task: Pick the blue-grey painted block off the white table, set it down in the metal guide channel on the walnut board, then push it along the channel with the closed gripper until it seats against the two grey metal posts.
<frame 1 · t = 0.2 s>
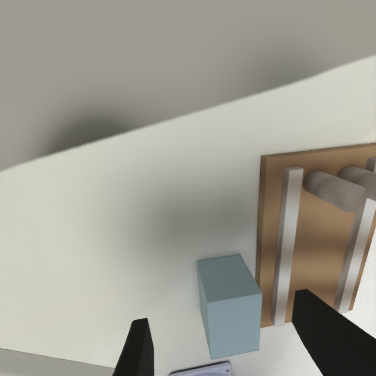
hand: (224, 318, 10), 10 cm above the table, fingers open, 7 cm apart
boss board: (311, 243, 22), on the table
panel block: (219, 283, 22), on the table
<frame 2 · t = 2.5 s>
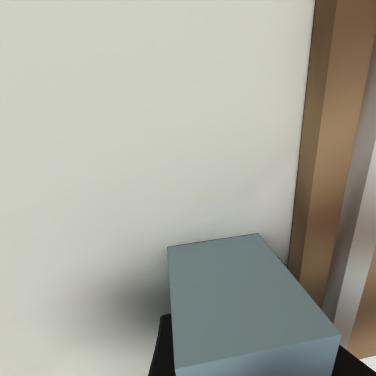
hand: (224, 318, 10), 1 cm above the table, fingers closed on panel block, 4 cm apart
panel block: (216, 294, 11), on the table, touching gripper
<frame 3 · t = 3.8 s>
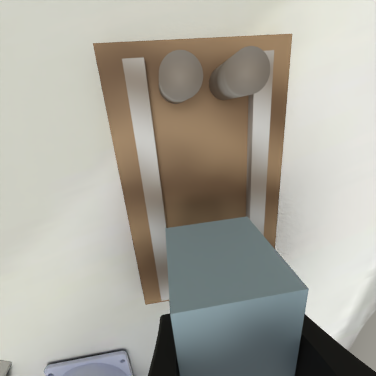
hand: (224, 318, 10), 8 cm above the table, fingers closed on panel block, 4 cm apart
boss board: (202, 189, 17), on the table
panel block: (210, 273, 12), point 6 cm above the table, touching gripper
when the fingers open (3 cm above the table, at t = 5.3 s): panel block stays where it is, resting on boss board.
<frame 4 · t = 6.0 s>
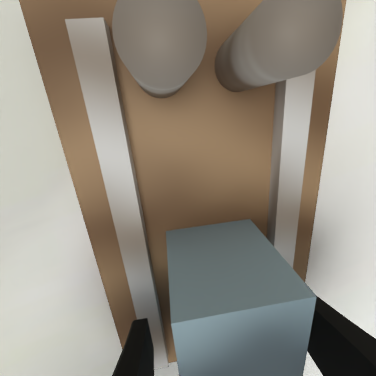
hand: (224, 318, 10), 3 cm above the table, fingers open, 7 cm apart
boss board: (205, 220, 12), on the table
panel block: (211, 277, 12), point 1 cm above the table, touching boss board
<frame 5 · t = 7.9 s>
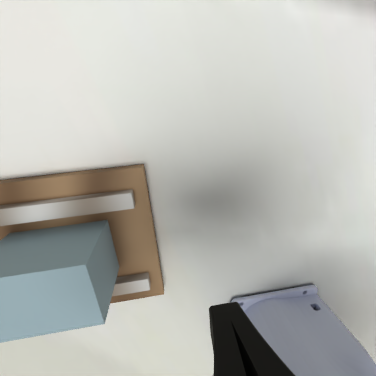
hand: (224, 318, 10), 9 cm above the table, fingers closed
boss board: (31, 249, 17), on the table
panel block: (68, 251, 16), point 1 cm above the table, touching boss board
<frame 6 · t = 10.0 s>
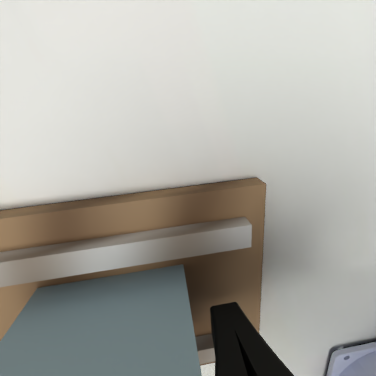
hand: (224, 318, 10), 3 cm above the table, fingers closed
boss board: (84, 300, 12), on the table
panel block: (121, 309, 11), point 1 cm above the table, touching gripper
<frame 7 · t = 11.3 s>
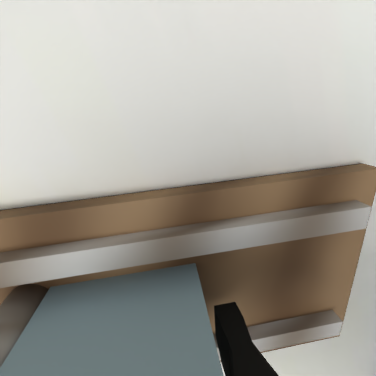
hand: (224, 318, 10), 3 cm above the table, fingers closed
boss board: (187, 282, 12), on the table
panel block: (133, 307, 11), point 1 cm above the table, touching boss board, gripper
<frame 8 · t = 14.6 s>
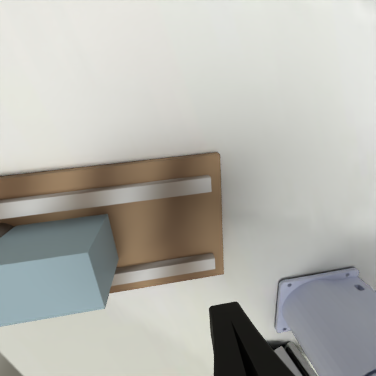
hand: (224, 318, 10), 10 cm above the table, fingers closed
boss board: (109, 231, 18), on the table
panel block: (70, 243, 17), point 1 cm above the table, touching boss board
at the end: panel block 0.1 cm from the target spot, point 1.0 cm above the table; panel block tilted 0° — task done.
